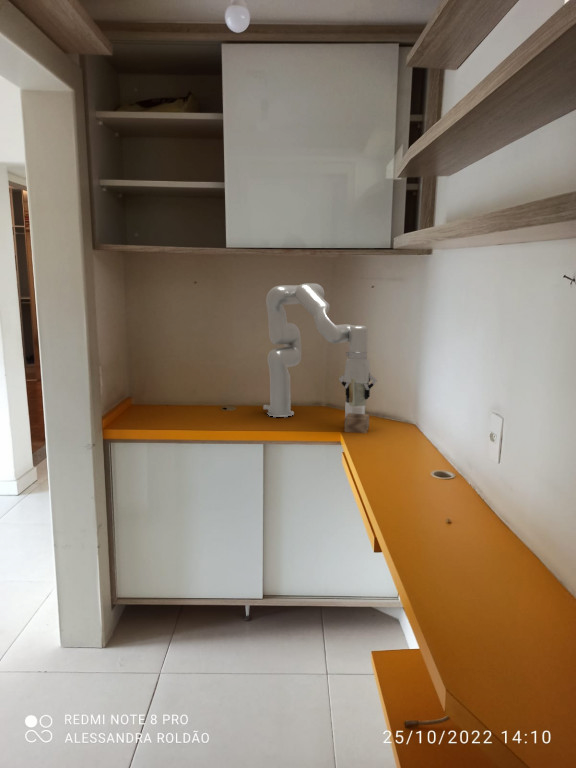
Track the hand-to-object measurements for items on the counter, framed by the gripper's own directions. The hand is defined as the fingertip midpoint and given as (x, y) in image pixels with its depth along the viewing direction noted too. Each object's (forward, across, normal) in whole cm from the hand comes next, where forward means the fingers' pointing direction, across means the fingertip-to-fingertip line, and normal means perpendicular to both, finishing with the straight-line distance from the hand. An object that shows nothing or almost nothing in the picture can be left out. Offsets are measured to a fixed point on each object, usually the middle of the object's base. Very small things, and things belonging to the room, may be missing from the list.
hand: (357, 397), depth 229 cm
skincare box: (+4, 0, 0) cm, 4 cm away
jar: (+14, -5, +11) cm, 18 cm away
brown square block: (+14, 0, 0) cm, 14 cm away
